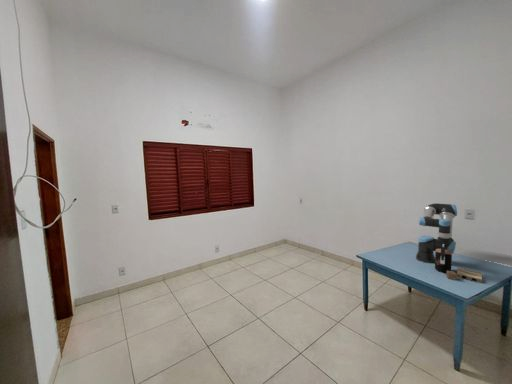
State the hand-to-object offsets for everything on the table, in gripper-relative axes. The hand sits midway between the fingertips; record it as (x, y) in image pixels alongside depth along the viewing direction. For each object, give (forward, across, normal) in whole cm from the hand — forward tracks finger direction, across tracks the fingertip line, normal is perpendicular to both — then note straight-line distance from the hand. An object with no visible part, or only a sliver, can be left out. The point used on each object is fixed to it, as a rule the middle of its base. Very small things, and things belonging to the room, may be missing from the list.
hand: (443, 261), depth 181 cm
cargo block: (+9, +12, +6) cm, 16 cm away
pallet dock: (+9, 0, +16) cm, 18 cm away
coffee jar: (+9, 0, 0) cm, 9 cm away
